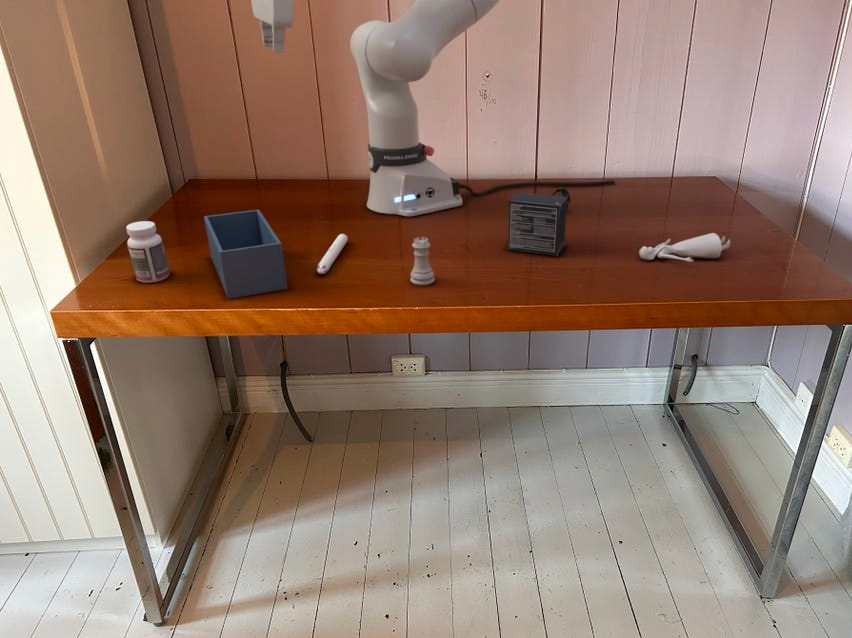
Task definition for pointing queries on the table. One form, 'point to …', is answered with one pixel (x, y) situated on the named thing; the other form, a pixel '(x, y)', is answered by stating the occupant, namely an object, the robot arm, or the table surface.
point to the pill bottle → (147, 252)
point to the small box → (537, 223)
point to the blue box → (245, 253)
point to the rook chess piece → (421, 263)
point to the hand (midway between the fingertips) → (273, 49)
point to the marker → (332, 254)
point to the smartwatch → (562, 194)
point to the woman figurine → (688, 248)
